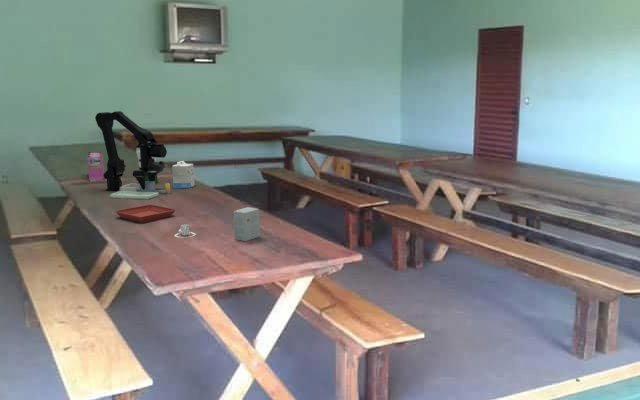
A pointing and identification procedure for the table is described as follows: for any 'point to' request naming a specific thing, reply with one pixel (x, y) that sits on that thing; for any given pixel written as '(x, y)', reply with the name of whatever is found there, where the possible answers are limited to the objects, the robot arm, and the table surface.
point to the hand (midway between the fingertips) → (148, 187)
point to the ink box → (183, 175)
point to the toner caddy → (151, 187)
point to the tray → (134, 195)
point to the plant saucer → (145, 213)
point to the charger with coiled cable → (184, 231)
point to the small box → (246, 224)
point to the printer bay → (130, 187)
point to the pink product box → (95, 166)
